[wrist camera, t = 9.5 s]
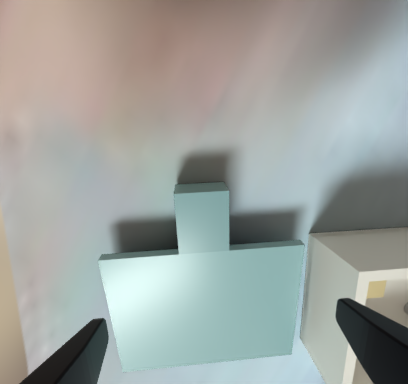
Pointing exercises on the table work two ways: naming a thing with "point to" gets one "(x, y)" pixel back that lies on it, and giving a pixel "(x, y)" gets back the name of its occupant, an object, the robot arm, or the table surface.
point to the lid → (203, 291)
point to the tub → (351, 292)
